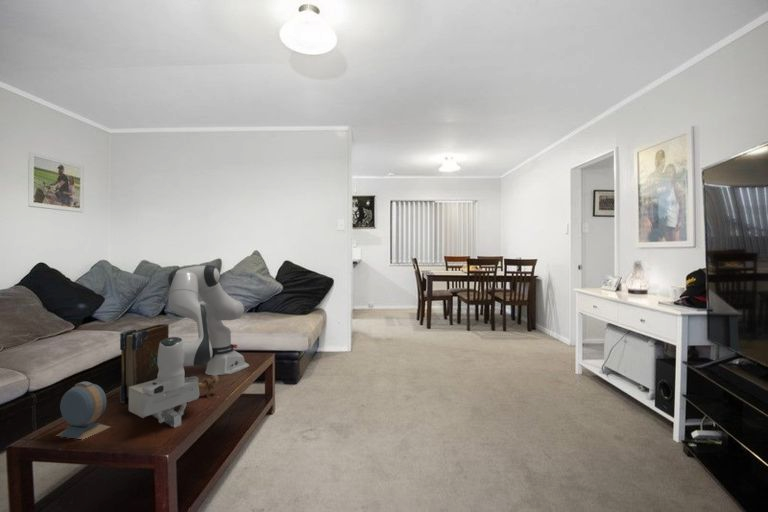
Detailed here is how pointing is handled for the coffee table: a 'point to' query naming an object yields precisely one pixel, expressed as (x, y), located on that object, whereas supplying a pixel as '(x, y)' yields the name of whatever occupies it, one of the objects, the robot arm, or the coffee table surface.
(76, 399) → the alarm clock
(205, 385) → the lion figurine
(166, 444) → the coffee table surface
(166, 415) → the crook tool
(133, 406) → the block
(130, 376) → the decorative book
